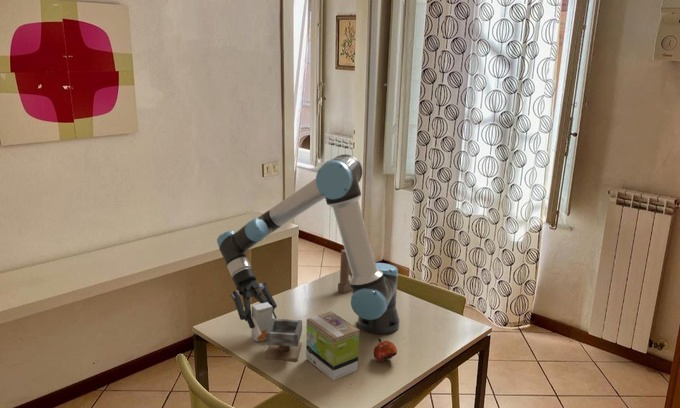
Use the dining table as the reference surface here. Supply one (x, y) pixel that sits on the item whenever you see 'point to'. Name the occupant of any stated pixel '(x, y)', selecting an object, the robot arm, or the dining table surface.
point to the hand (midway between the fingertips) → (267, 332)
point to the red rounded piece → (384, 350)
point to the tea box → (332, 345)
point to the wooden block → (344, 274)
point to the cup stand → (284, 339)
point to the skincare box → (262, 319)
